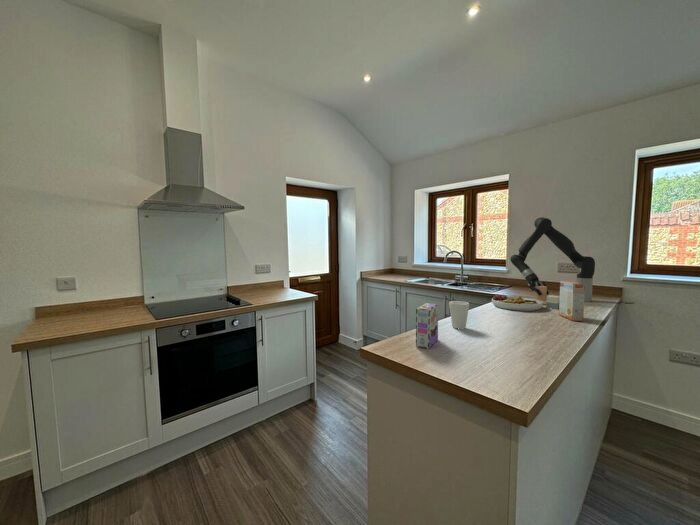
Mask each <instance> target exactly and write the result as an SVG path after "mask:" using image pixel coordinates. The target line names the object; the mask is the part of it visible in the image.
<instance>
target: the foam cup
mask: <svg viewBox="0 0 700 525" xmlns="http://www.w3.org/2000/svg"><path fill="white" fill-rule="evenodd" d="M448 302H449V304H448V307H449V311H450V313H449V314H450V319H451V327H454V328H459V329H463V330H465V329H466V328H467V320H468V316H469V308H470V303H469V302H468V301H462V300H452V301H448ZM454 328H453V329H454ZM464 328H465V329H464ZM459 329H458V330H459Z"/></svg>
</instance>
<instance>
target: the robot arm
mask: <svg viewBox="0 0 700 525" xmlns="http://www.w3.org/2000/svg"><path fill="white" fill-rule="evenodd" d="M533 225H534V227H535V230H534V231H533V232H532V233H531V235H530V236H529V237H527V238H526V240H524V242H523V243H522V244H521V246H520V247H519V249H518V252H519V253H518V254H513V255H511V256H510V259H509V260H510V262H511V263H512V265H513V266H514V267H515V268H516V269H517V270H518V271H519V273H521V275H522V277H523V278H524V279H525V280H526V282H527V286H528V288H529V289H530V290H531V291H533V292H536V294H538V295H541V294H542V293H541V292H540V290H538V286H547V289H548V288H549V287H548V285H547V283H546V282H545V281H542V282H541V281H540V280H539V279H540V278H539V276H538V275H537V273H535V271H533V270H532V268H531V267H530V266H529V265H528V264H527V263H525V261H526V260H527V257H528V254H529V253H530V252H531V250H532V248H534V246H535V245H536V243H537V242H538V241H539V240H540V239H541V238H542V237H543V235H545V236H546V237H547V238H548V239H549V240H550V242H551V243H552V244H553V245H554V246H555V247H556V248H557V249H559V250H560V251H561V252H562V253H563V254H564V255H565V256H566V257H568V259H569V260H570V261H571V262H572V263H573V265H574V266H575V267H576V268H579V269H580V271H579V273H577V274H576V282H578V283H582V284H585V290H584V303H590V302H593V279H594V278H593V277H594V275H595V270H596V261H595V259H594V258H593V257H592V256H584V255H583V254H581V253H579V252H578V250H577V249H576V247H575V244H574V243H573V241H572V240H571V239H570V238H569V237H567V236H566V235H565V234H564V233H562V232H561V231H559V230H558V229H556V228H555V227H554V226H553V223H552V220H551V219H550V218H548V217H547V218H546V217H537V218H536V219H535V220H534V222H533ZM549 295H550V292H549V290H547V296H549Z"/></svg>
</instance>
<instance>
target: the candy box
mask: <svg viewBox="0 0 700 525" xmlns="http://www.w3.org/2000/svg"><path fill="white" fill-rule="evenodd" d="M438 340H439V304H438V303H430V302H429V303H427V302H425V303H424V304H422V305H421V306H418V307H417V308H415V347H416V348H417V347H418V348H423V349H426V350H427V349H430V348H432V346H434V344H435V343H437V341H438Z"/></svg>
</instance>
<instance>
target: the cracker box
mask: <svg viewBox="0 0 700 525" xmlns="http://www.w3.org/2000/svg"><path fill="white" fill-rule="evenodd" d="M584 290H585V284H582V283H578V282H577V281H572V280H560V281H559V296H560V304H559V309H558V310H559V311H558V315H559V316H560V317H563V318H565V319H567V320H570V321H572V322H584V312H585V310H584V307H585V302H584Z"/></svg>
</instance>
